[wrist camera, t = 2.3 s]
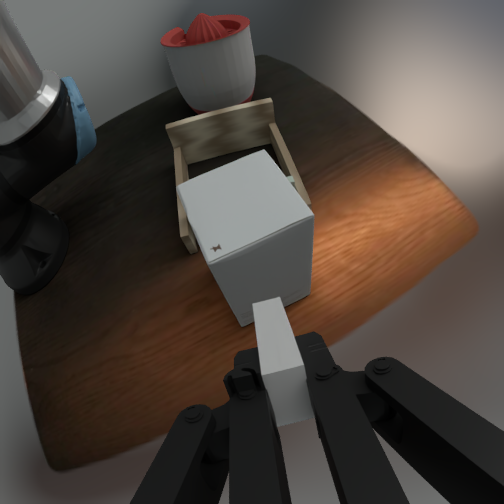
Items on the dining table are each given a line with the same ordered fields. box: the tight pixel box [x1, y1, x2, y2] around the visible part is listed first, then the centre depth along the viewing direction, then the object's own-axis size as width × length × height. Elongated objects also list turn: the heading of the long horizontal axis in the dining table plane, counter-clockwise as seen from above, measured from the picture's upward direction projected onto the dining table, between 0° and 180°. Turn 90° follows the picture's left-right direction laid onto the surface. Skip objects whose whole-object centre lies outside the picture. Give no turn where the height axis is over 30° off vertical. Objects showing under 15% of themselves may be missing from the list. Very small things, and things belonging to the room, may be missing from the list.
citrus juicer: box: [161, 13, 255, 115], centre depth 50 cm, size 16×17×20 cm
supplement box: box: [176, 149, 314, 327], centre depth 31 cm, size 9×9×15 cm
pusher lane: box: [166, 98, 311, 254], centre depth 42 cm, size 16×18×8 cm
